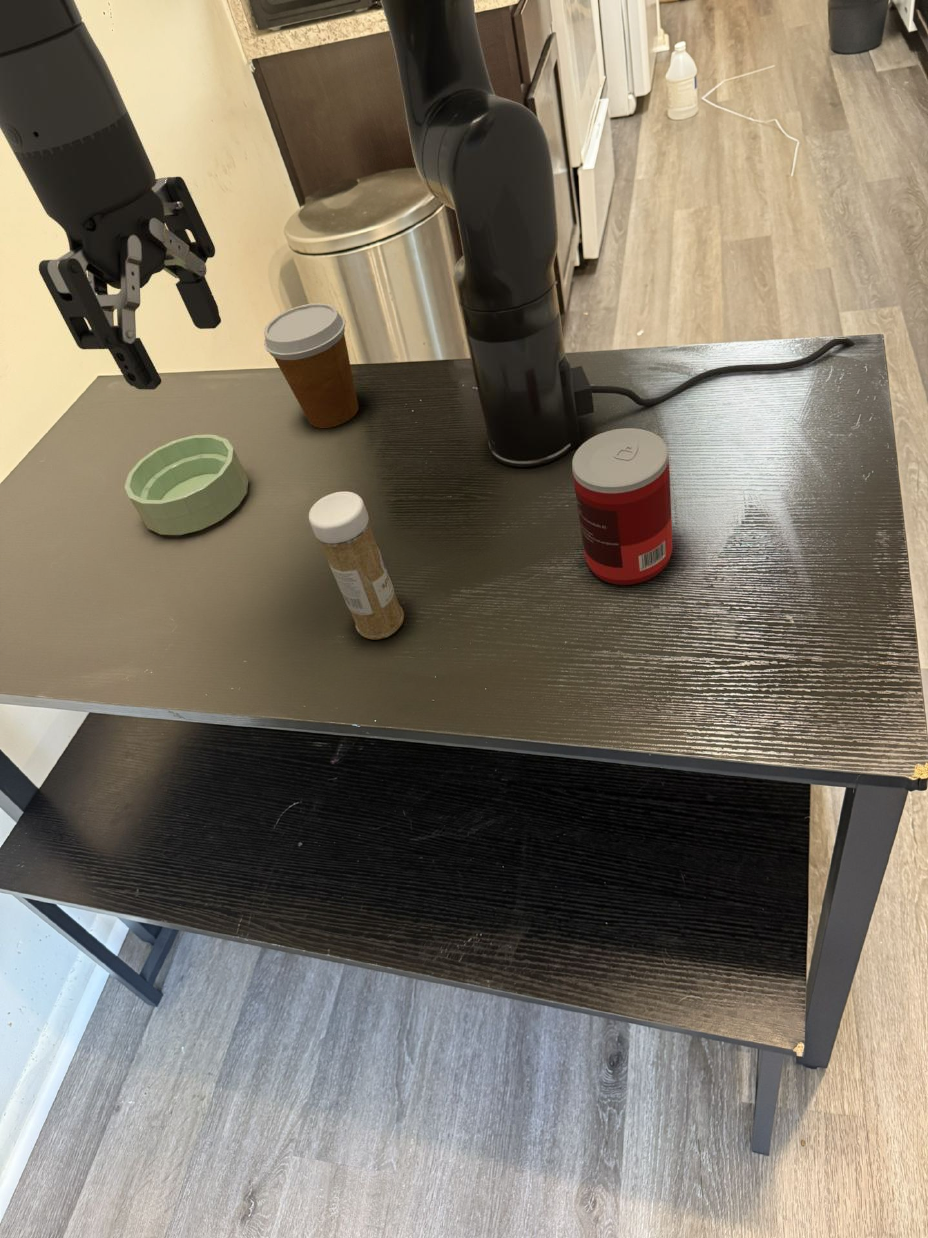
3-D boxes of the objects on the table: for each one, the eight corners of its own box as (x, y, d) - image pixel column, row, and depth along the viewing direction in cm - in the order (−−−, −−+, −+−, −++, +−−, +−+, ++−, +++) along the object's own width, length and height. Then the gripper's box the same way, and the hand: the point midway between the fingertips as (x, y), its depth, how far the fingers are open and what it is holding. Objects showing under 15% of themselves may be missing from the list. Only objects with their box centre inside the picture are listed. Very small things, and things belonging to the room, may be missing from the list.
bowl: (253, 460, 102) (236, 424, 98) (246, 523, 93) (228, 486, 89) (154, 484, 102) (134, 449, 99) (138, 550, 94) (116, 514, 90)
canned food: (680, 529, 78) (676, 427, 71) (664, 591, 73) (658, 488, 66) (596, 524, 81) (584, 425, 73) (576, 584, 76) (560, 484, 68)
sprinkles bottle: (414, 623, 77) (372, 505, 68) (371, 649, 76) (322, 533, 66) (389, 597, 80) (346, 481, 71) (347, 622, 79) (297, 508, 69)
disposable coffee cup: (287, 411, 108) (251, 322, 99) (357, 382, 109) (328, 292, 101) (307, 446, 101) (270, 353, 93) (382, 415, 103) (352, 321, 94)
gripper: (39, 163, 48) (169, 410, 60) (175, 75, 57) (266, 306, 68) (-54, 175, 51) (87, 408, 63) (89, 90, 60) (190, 309, 71)
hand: (180, 355), depth 65 cm, fingers open, 8 cm apart
